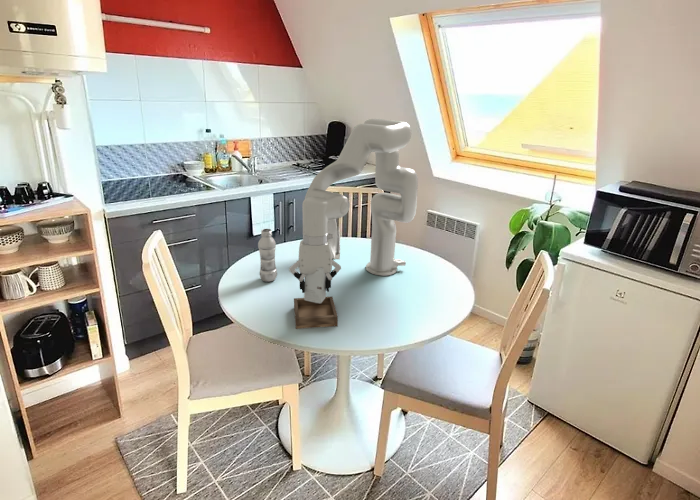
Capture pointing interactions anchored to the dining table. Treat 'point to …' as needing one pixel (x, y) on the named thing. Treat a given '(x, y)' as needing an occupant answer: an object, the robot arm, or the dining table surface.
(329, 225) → the skyscraper
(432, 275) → the dining table surface
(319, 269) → the skincare box
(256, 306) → the dining table surface
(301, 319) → the walnut tray
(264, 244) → the plastic bottle
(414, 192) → the robot arm
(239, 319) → the dining table surface
